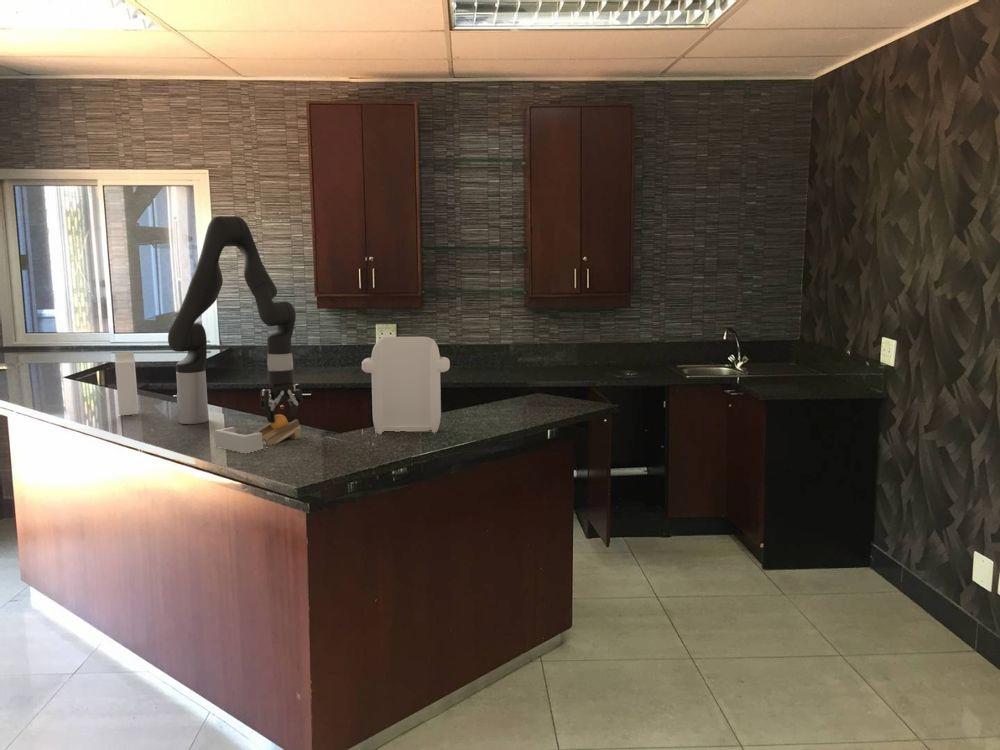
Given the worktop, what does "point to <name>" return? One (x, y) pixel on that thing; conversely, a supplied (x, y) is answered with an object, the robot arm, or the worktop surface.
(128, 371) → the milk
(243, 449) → the backstop
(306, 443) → the worktop surface
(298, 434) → the ramp
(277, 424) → the ball
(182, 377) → the robot arm
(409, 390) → the toaster
